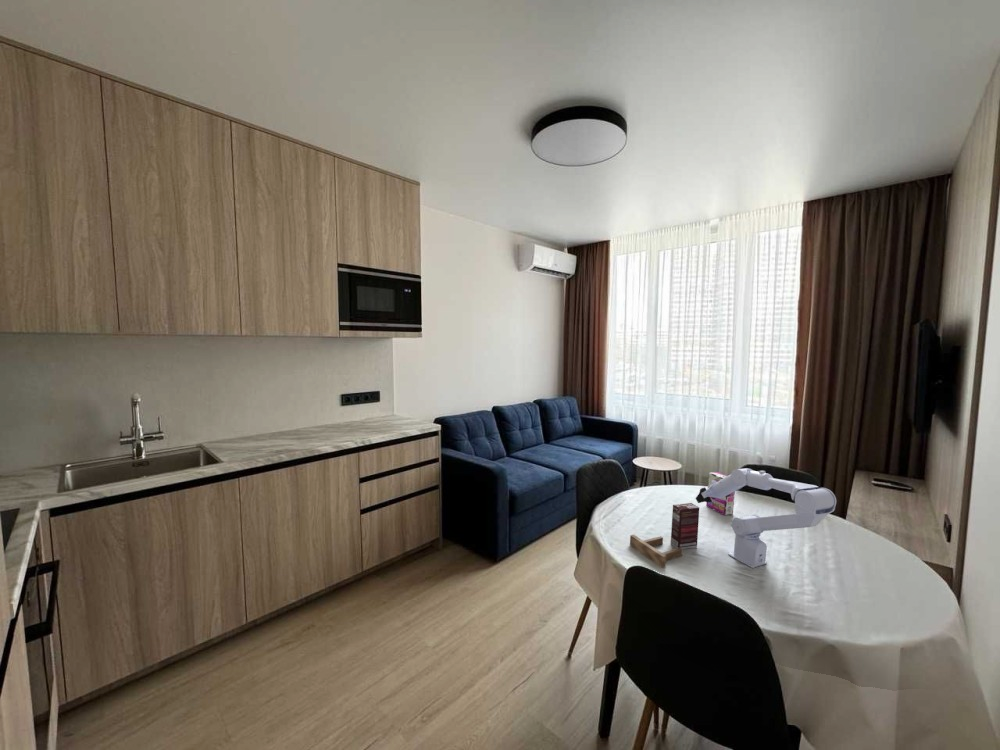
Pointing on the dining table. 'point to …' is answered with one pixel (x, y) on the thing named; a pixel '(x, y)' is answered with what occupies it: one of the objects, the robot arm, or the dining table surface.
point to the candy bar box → (720, 504)
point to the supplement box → (685, 526)
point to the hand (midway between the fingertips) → (704, 498)
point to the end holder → (654, 550)
